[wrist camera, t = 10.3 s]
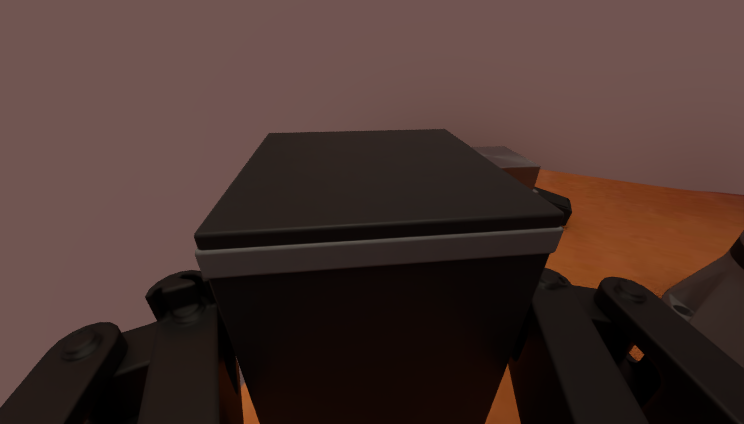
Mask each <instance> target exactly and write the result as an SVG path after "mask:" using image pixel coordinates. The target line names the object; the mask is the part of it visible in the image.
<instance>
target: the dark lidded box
mask: <svg viewBox="0 0 744 424" xmlns="http://www.w3.org/2000/svg"><path fill="white" fill-rule="evenodd" d="M563 218H564V213H563V212H562V211H561V210H560V209H558V208H557V207H555V206H554V205H552V204H551V203H550V202H548V201H547V200H545V199H544V198H542V197H541V196H540V195H538V194H537V193H535V192H534V191H533V190H531V189H530V188H528V187H527V186H525V185H524V184H523V183H521V182H520V181H518V180H517V179H515V178H514V177H513V176H511V175H510V174H508V173H507V172H505V171H504V170H503V169H501V168H500V167H498V166H497V165H495V164H494V163H493V162H491V161H490V160H488V159H487V158H485V157H484V156H483V155H481V154H480V153H478V152H477V151H475V150H474V149H473V148H471V147H470V146H468V145H467V144H465V143H464V142H463V141H461V140H460V139H458V138H457V137H456V136H454V135H453V134H451V133H450V132H448V131H447V130H445V129H437V130H436V129H432V130H388V131H350V132H349V131H346V132H304V133H302V132H301V133H269V134H268V135H267V137H266V138H265V139H264V140H263V142H262V143H261V145H260V146H259V147H258V149H257V150H256V151H255V153H254V154H253V155H252V157H251V158H250V159H249V161H248V162H247V163H246V165H245V166H244V167H243V169H242V170H241V172H240V173H239V174H238V176H237V177H236V178H235V180H234V181H233V182H232V184H231V185H230V186H229V188H228V189H227V190H226V192H225V193H224V195H223V196H222V197H221V199H220V200H219V201H218V203H217V204H216V205H215V207H214V208H213V209H212V211H211V212H210V213H209V215H208V216H207V218H206V219H205V220H204V222H203V223H202V224H201V226H200V227H199V228H198V230H197V231H196V233H195V235H194V238H195V241H196V244H197V247H198V248H197V249H196V251H195V257H196V259H197V262H198V265H199V267H200V270H201V273H202V276H203V277H204V278H205V279H209V281H210V284H211V287H212V290H213V292H214V295H215V298H216V301H217V304H218V307H219V309H220V312H221V315H222V318H223V321H224V324H225V326H226V329H227V332H228V335H229V338H230V341H231V343H232V346H233V349H234V352H235V355H236V358H237V360H238V363H239V366H240V369H241V371H242V375H243V377H244V380H245V383H246V386H247V389H248V392H249V394H250V397H251V400H252V403H253V406H254V409H255V411H256V414H257V417H258V420H259V423H260V424H485V422H486V419H487V416H488V414H489V411H490V409H491V406H492V403H493V401H494V398H495V396H496V393H497V390H498V388H499V385H500V382H501V380H502V377H503V375H504V372H505V369H506V367H507V364H508V362H509V359H510V356H511V354H512V351H513V348H514V346H515V343H516V341H517V338H518V335H519V333H520V330H521V328H522V325H523V322H524V320H525V317H526V314H527V312H528V309H529V307H530V304H531V301H532V299H533V296H534V293H535V291H536V288H537V286H538V283H539V280H540V278H541V275H542V273H543V270H544V267H545V265H546V262H547V259H548V257H549V254H550V253H553V252H555V251H556V248H557V246H558V243H559V241H560V238H561V236H562V233H563V228H562V227H561V226H560V225H561V223H562V220H563Z"/></svg>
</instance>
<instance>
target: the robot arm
mask: <svg viewBox="0 0 744 424" xmlns="http://www.w3.org/2000/svg"><path fill="white" fill-rule="evenodd" d="M145 298H146V300H147V302H148V304H149V306H150V308H151V310H152V311H153V314H154V316H155V318H156V319H157V322H154V323H151V324H149V325H145V326H142V327H139V328H136V329H133V330H129V331H126V332H123V333H121V331H120V330H119V328H118V326H117V325H115V324H113V323H110V322H99V323H95V324H91V325H88V326H85V327H83V328H81V329H78V330H76V331H74V332H72V333H70V334H69V335H67V336H66V337H64V338H63V339H61V340H59V341H58V342H57V343H56V344H55V345H54V346H53V347H52V348H51V349H50V350H49V351H48V352H47V353H46V354H45V355H44V356H43V358H42V359H41V360H40V361H39V362H38V363H37V365H36V366H35V367H34V368H33V369H32V371H31V372H30V373H29V374H28V375H27V377H26V378H25V379H24V380H23V381H22V383H21V384H20V385H19V386H18V387H17V388H16V390H15V391H14V392H13V393H12V394H11V396H10V397H9V398H8V399H7V401H6V402H5V403H4V404H3V405H2V407H1V408H0V424H244V421H243V409H242V397H241V386H240V374H239V365H238V362H237V359H236V355H235V352H234V349H233V346H232V343H231V341H230V338H229V335H228V332H227V329H226V326H225V324H224V321H223V318H222V315H221V312H220V309H219V307H218V304H217V301H216V298H215V295H214V292H213V290H212V287H211V284H210V281H209V279H205V278H204V277H203V276H202V273H201V271H195V270H189V271H182V272H178V273H175V274H172V275H169V276H167V277H166V278H164V279H162V280H160V281H158V282H157V283H156V284H155V285H154V286H153V287H151V288H150V289H149V291H148V293H147V295H146V296H145ZM634 345H636V346H637V347H638V348H639V349H640V350H641V351H642V352H643V354H644V356H643V357H642V359H641V360H640V361H637V360H635V359H634V358H633V357H632V356H631V355H630V354H629V352H630V351H631V349H632V348H633V346H634ZM508 366H509V371H510V375H511V380H512V385H513V389H514V394H515V399H516V403H517V408H518V412H519V417H520V422H521V424H744V231H743V232H742V233H741V235H740V236H739V238H738V239H737V240H736V242H735V243H734V244H733V246H732V247H731V248H730V249H729V251H728V252H727V253H726V254H725V255H724V256H722V257H721V258H719V259H717V260H716V261H714V262H712V263H711V264H709V265H707V266H706V267H704V268H702V269H701V270H699V271H697V272H696V273H694V274H692V275H691V276H689V277H687V278H686V279H684V280H682V281H681V282H679V283H677V284H676V285H674V286H673V287H671V288H670V289H668V290H667V291H666V292H665V293H664V295H663V296H662V298H661V299H660V298H659V297H657V296H656V295H655V294H654V293H653V292H651V291H650V290H648V289H647V288H645V287H644V286H642V285H640V284H638V283H635V282H634V281H631V280H627V279H624V278H619V277H607V278H604V279H603V280H602V281H601V282H600V284H599V286H598V288H597V289H594V288H588V287H581V286H574V285H572V284H571V283H570V282H569V281H568V280H567V278H565V277H564V276H562V275H561V274H559V273H558V272H555V271H553V270H551V269H548V268H544V270H543V273H542V275H541V278H540V280H539V283H538V286H537V288H536V291H535V293H534V296H533V299H532V301H531V304H530V307H529V309H528V312H527V314H526V317H525V320H524V322H523V325H522V328H521V330H520V333H519V335H518V338H517V341H516V343H515V346H514V348H513V351H512V354H511V356H510V359H509V362H508Z"/></svg>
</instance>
